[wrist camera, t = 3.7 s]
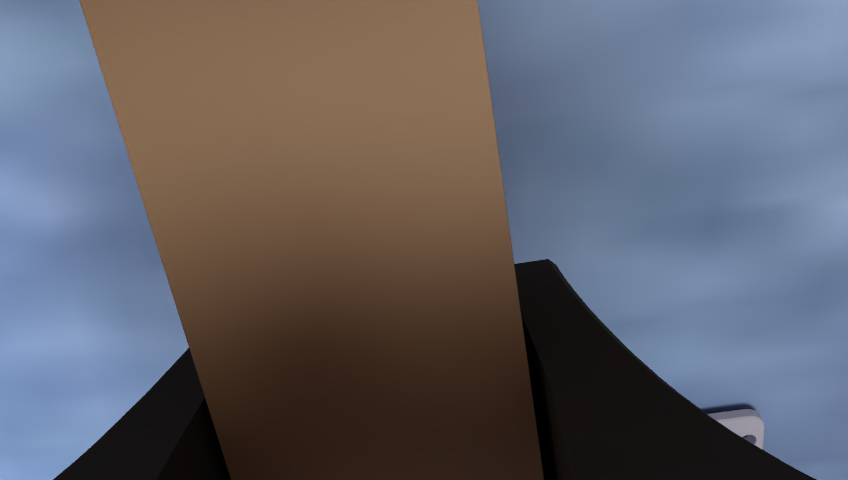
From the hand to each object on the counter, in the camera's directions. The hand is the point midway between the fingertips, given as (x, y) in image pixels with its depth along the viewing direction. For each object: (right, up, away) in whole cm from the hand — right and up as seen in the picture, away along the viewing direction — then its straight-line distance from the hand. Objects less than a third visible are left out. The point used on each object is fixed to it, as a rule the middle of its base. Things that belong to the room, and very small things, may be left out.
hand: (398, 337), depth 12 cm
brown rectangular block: (0, +2, +2) cm, 3 cm away
